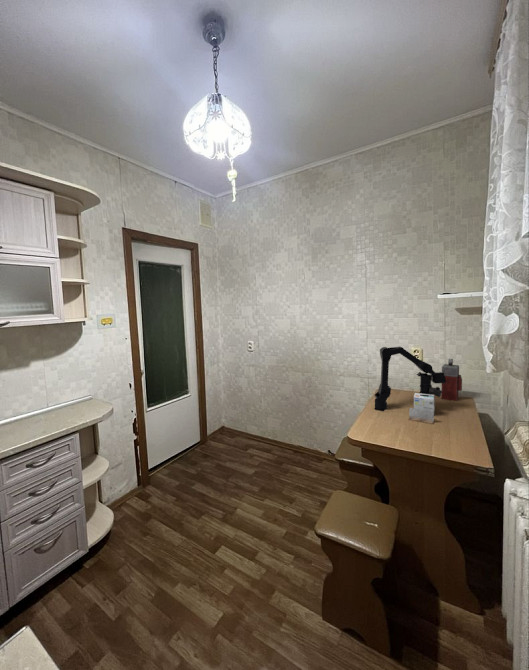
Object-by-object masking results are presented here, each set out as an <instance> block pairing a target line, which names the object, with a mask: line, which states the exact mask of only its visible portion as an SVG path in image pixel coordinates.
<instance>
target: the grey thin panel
mask: <svg viewBox="0 0 529 670" xmlns="http://www.w3.org/2000/svg"><path fill="white" fill-rule="evenodd" d="M408 409H409V411H408V413H409V418H415V419H421V420H427V421H433V422H434V423H435V410H434V411H428V410H421V409H415V408H414V407H409V408H408ZM409 418H408V419H409Z"/></svg>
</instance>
